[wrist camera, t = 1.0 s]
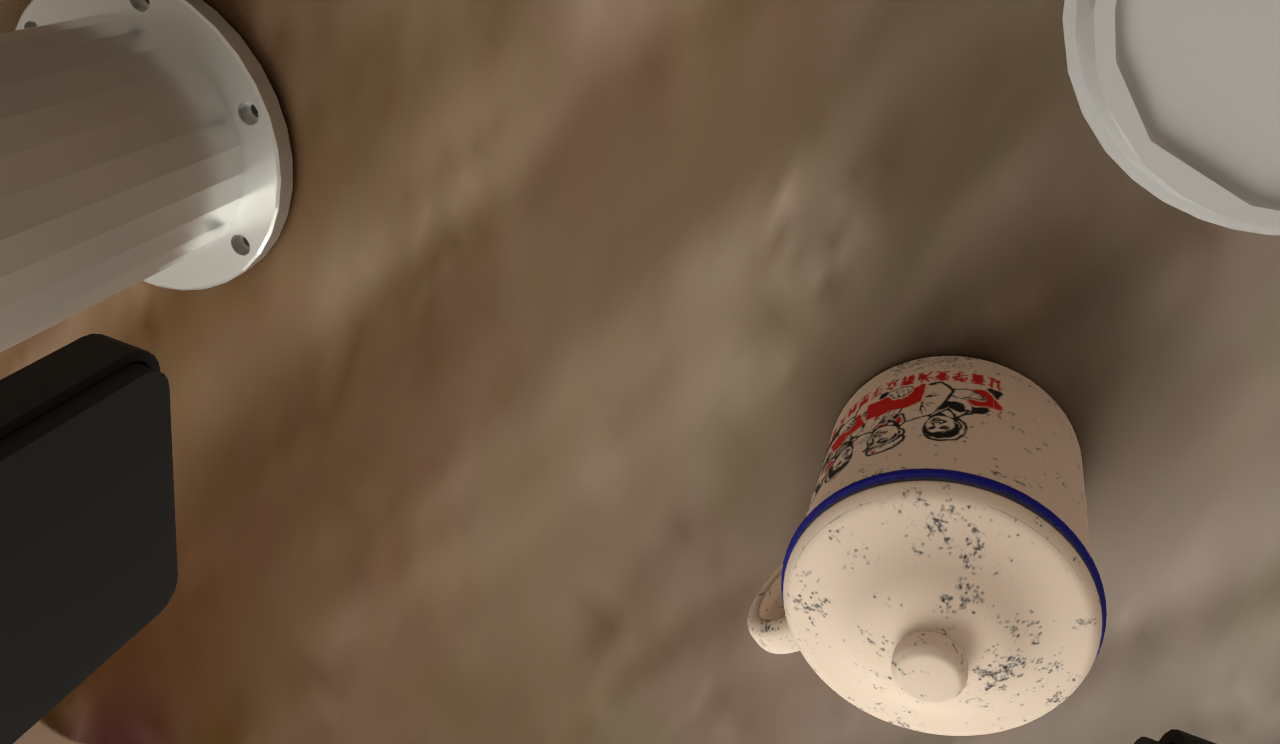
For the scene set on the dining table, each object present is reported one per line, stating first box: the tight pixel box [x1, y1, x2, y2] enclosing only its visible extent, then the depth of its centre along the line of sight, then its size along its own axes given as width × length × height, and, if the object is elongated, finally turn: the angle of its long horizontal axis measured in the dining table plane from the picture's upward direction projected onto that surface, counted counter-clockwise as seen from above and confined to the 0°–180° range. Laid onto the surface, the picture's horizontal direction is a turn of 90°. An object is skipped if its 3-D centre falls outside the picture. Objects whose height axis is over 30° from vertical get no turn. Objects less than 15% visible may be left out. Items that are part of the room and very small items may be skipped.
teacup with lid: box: [748, 356, 1107, 736], centre depth 34 cm, size 12×9×12 cm
